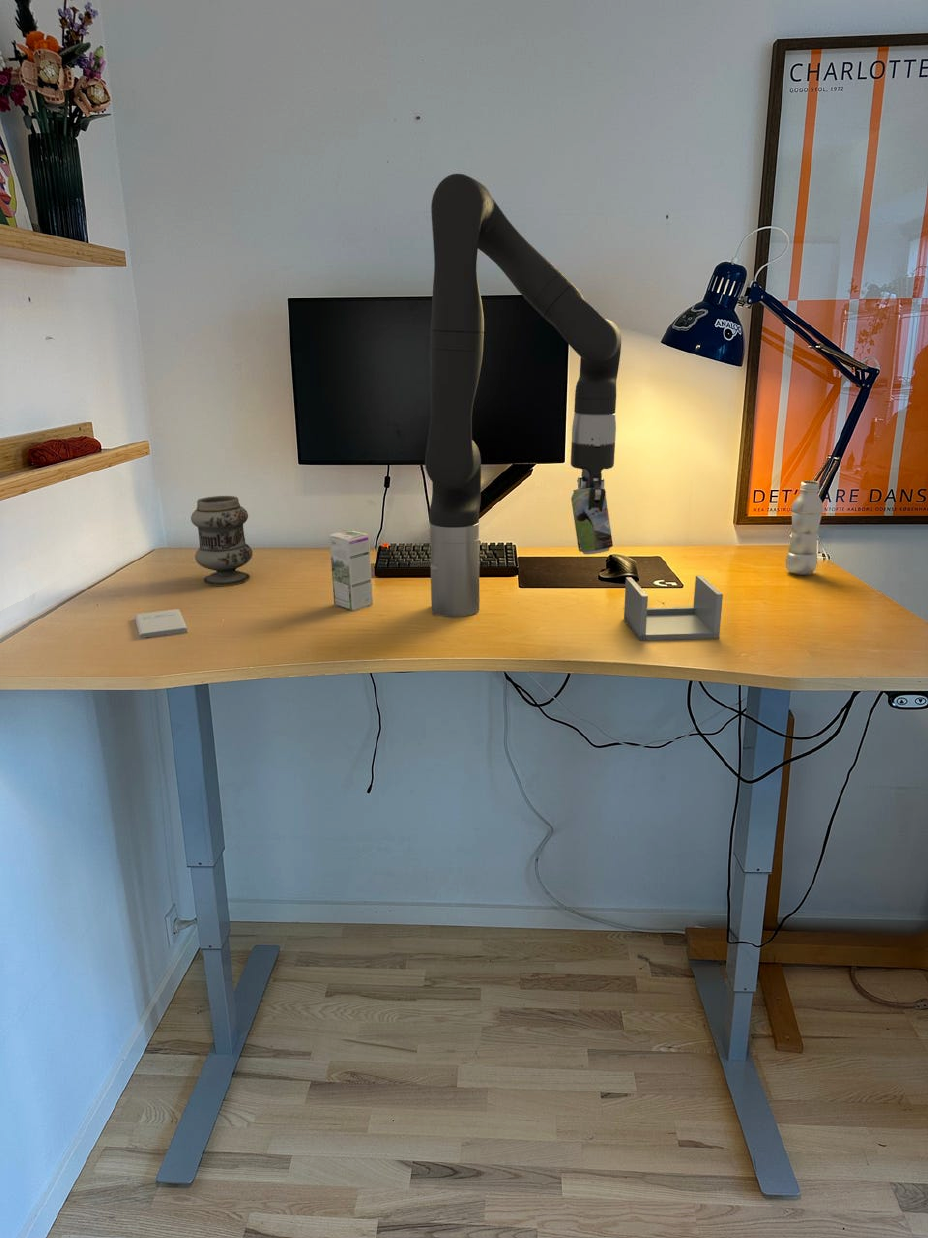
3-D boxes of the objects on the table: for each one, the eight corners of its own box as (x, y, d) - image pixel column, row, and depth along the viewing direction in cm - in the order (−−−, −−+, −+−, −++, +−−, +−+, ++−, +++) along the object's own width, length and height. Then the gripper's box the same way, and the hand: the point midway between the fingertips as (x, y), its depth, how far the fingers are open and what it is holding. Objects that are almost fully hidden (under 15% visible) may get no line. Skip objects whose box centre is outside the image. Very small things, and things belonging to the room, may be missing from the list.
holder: (639, 640, 151) (642, 596, 149) (623, 618, 162) (625, 577, 160) (719, 638, 152) (723, 594, 149) (698, 616, 163) (701, 575, 161)
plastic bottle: (818, 572, 191) (829, 481, 185) (812, 579, 186) (823, 485, 179) (788, 568, 195) (798, 478, 188) (780, 575, 189) (790, 483, 183)
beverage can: (611, 556, 151) (612, 486, 149) (569, 556, 153) (569, 487, 150) (613, 551, 157) (614, 484, 155) (573, 551, 159) (573, 484, 156)
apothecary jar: (224, 570, 199) (215, 491, 193) (266, 576, 193) (259, 495, 188) (185, 584, 188) (176, 501, 183) (229, 590, 183) (220, 505, 177)
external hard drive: (140, 642, 155) (135, 621, 166) (188, 635, 158) (180, 616, 169) (139, 633, 155) (134, 613, 165) (187, 627, 158) (179, 607, 169)
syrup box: (374, 604, 173) (370, 532, 168) (351, 611, 168) (347, 538, 164) (355, 599, 176) (351, 528, 172) (332, 605, 172) (328, 533, 168)
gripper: (565, 435, 158) (561, 528, 164) (579, 445, 145) (574, 546, 150) (606, 434, 158) (601, 528, 164) (623, 444, 145) (617, 546, 151)
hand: (588, 536), depth 157 cm, fingers closed on beverage can
